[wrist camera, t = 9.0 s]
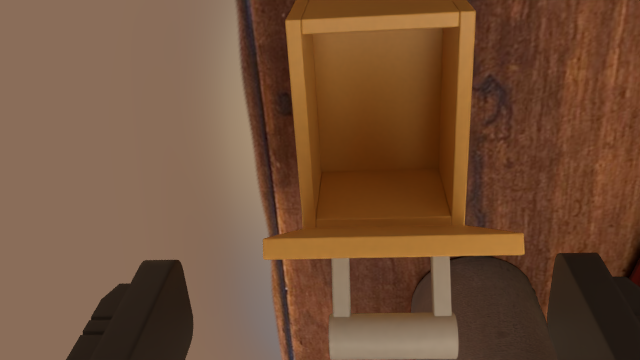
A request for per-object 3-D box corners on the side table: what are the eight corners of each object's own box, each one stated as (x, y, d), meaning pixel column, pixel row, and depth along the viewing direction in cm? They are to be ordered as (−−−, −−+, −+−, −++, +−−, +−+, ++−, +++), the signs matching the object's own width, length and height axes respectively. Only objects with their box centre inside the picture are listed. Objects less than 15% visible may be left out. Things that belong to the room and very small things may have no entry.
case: (297, -6, 37) (284, 20, 31) (455, -14, 36) (476, 10, 30) (311, 177, 43) (303, 231, 36) (448, 173, 42) (464, 227, 36)
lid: (262, 238, 23) (265, 373, 22) (524, 232, 22) (529, 372, 22) (302, 228, 36) (304, 313, 36) (465, 225, 35) (469, 311, 35)
